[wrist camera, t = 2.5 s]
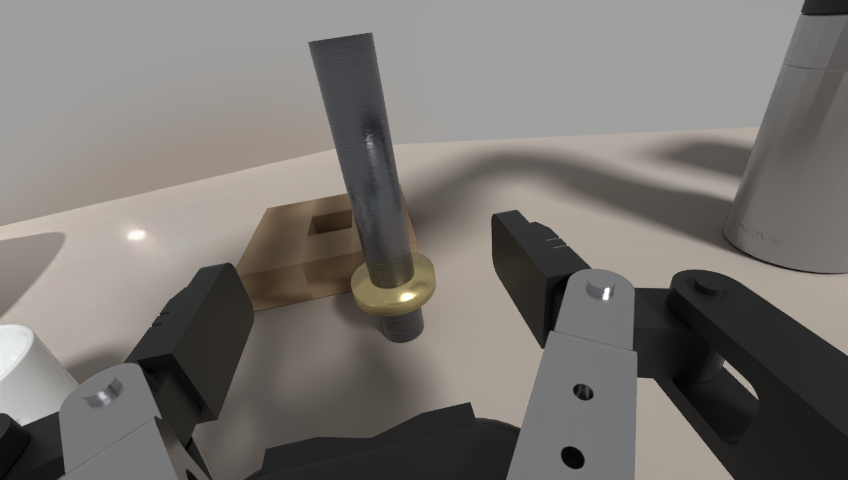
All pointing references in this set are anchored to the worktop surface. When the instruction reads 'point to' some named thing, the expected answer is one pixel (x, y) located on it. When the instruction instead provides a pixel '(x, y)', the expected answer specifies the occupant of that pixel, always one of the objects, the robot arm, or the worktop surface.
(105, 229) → the worktop surface
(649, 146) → the worktop surface
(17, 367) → the white cup
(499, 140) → the worktop surface
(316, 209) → the wooden base block
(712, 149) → the worktop surface
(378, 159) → the steel pin
